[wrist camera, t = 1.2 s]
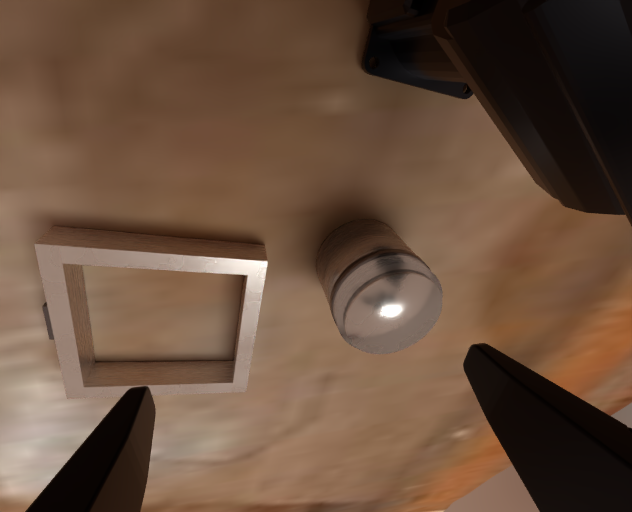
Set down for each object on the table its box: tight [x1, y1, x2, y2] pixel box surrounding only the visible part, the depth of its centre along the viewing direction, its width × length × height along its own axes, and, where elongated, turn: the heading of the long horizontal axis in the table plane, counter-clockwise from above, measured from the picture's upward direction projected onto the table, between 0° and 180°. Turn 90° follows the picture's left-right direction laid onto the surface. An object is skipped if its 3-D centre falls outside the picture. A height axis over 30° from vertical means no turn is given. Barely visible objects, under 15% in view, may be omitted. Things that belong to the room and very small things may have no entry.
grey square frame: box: [34, 226, 268, 399], centre depth 20 cm, size 12×11×2 cm
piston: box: [316, 219, 442, 354], centre depth 20 cm, size 6×6×6 cm
